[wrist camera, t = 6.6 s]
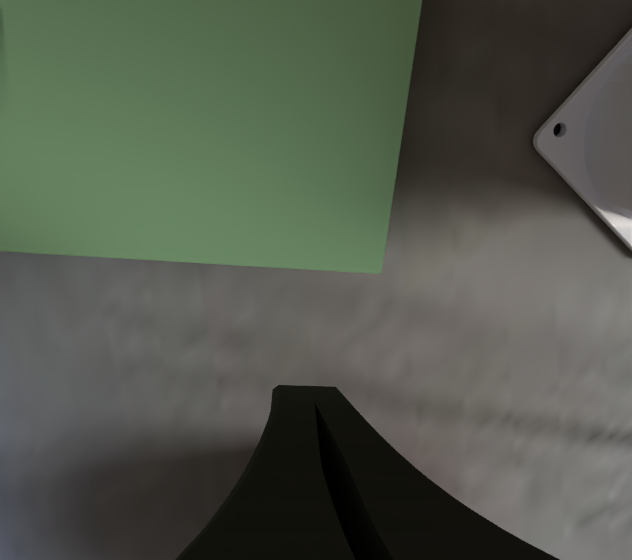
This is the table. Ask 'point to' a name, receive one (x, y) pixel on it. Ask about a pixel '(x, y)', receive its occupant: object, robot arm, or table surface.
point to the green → (204, 129)
